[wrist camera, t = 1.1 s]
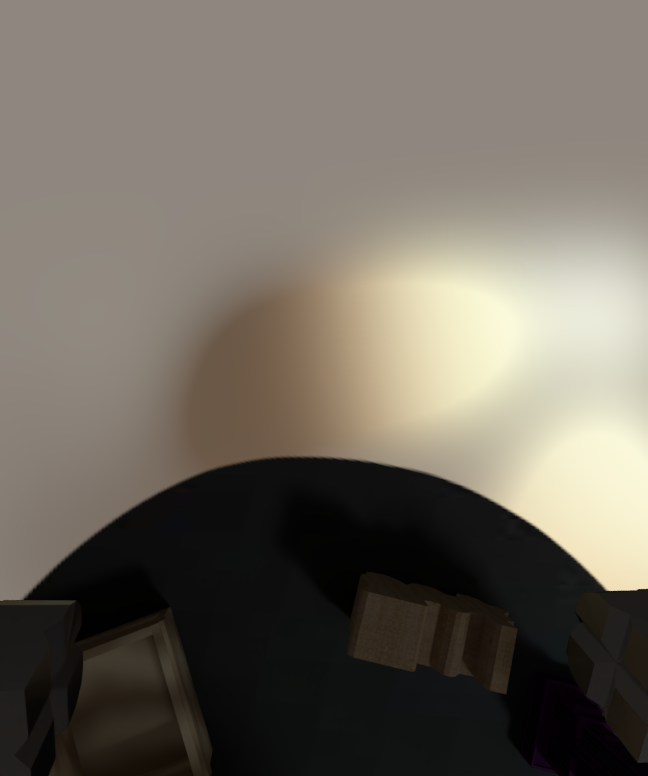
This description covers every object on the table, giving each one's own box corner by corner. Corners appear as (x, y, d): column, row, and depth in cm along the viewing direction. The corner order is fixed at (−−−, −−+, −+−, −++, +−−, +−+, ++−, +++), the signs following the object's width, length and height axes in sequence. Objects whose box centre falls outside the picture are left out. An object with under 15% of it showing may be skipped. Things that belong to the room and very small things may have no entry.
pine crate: (216, 748, 48) (209, 781, 43) (82, 805, 47) (59, 846, 42) (174, 604, 50) (162, 620, 45) (42, 654, 48) (15, 676, 43)
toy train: (484, 654, 52) (533, 700, 42) (334, 618, 51) (347, 656, 41) (494, 602, 53) (544, 635, 43) (346, 565, 52) (362, 590, 42)
